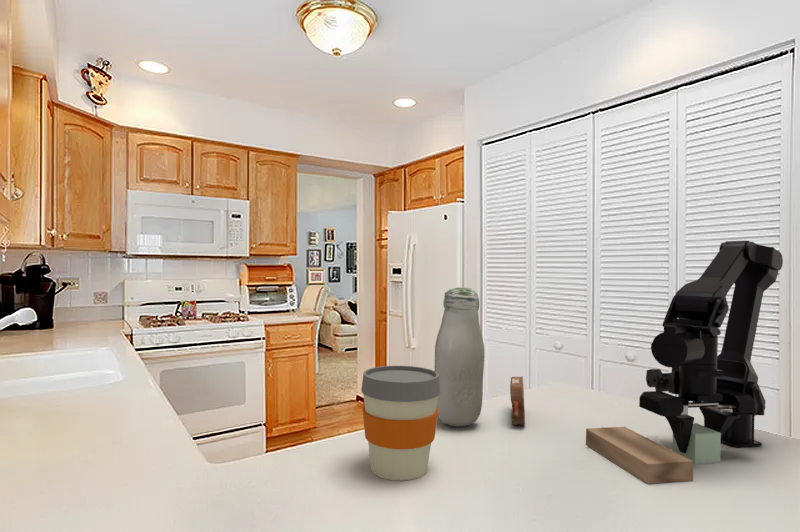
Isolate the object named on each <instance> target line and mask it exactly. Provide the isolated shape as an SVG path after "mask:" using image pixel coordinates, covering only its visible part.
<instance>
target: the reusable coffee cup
mask: <svg viewBox="0 0 800 532" xmlns="http://www.w3.org/2000/svg"><path fill="white" fill-rule="evenodd" d="M362 373H363V376H362V380H361V381H362V383H361V387H360V388H361V393H362V394H363V402H364V403H363V404H364V406H363V407H362V417H363V428H364V437H365V439H366V441H367V442H368V443H367V444H368V451H369V462H370V469H371V472H372V473H373V474H374V475H376V476H377V477H379V478H382V479H385V480H389V481H390V480H391V481H401V482H402V481H411V480H415V479H419V478H421V477H423V476H425V474H427V471H428V467H429V460H430V452H431V446H432V443H433V442H434V440H435V437H436V432H437V431H436V430H437V424H438V423H437V422H438V419H439V418H438V409H437V408H436V407H437V400H438V396H439V395H440V382H439V374H438V373H437V372H436V371H434V370H433V369H432V368H431V369H430V368H426V367H421V366H420V367H419V366H412V365H411V366H410V365H382V366H376V367H371V368H370V367H369V369H366V370H364V371H363V372H362Z"/></svg>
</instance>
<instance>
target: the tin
mask: <svg viewBox="0 0 800 532" xmlns="http://www.w3.org/2000/svg"><path fill="white" fill-rule="evenodd" d="M509 387H510V388H509V391H510V395H509V396H510V403H511V424H512V425H515V426H524V427H525V425H526V415H525V414H526V413H525V411H526V410H525V398H524V397H525V393H524V376H511V377H510V384H509Z"/></svg>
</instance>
